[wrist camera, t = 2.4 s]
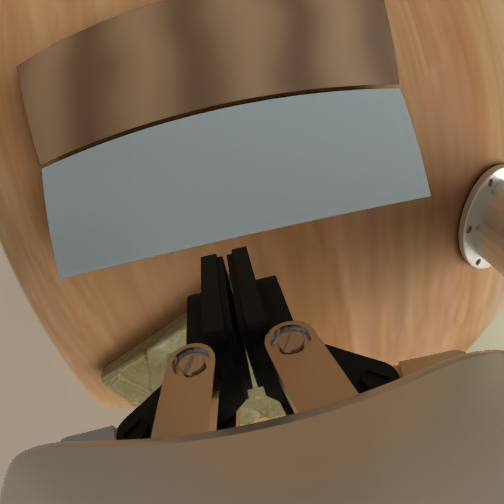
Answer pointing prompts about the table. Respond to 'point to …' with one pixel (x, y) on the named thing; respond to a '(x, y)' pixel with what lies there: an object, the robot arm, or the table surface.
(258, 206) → the grey-blue plank
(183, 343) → the decorative tile
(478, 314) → the table surface
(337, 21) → the walnut plank
